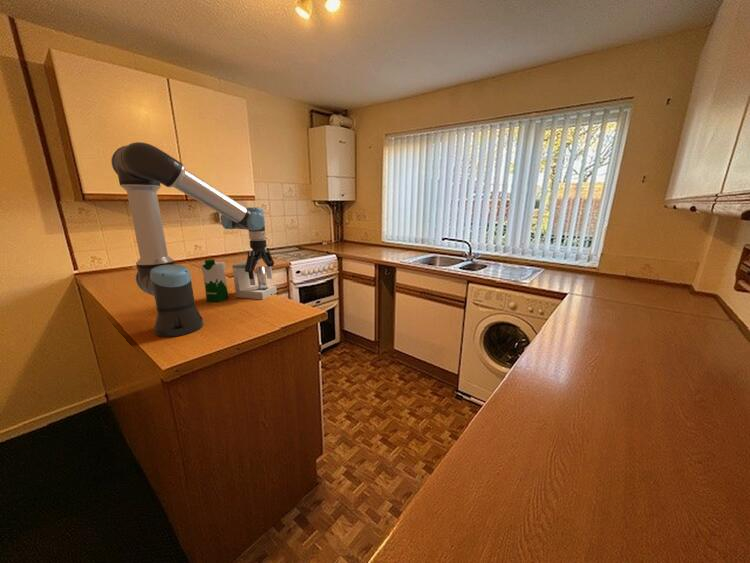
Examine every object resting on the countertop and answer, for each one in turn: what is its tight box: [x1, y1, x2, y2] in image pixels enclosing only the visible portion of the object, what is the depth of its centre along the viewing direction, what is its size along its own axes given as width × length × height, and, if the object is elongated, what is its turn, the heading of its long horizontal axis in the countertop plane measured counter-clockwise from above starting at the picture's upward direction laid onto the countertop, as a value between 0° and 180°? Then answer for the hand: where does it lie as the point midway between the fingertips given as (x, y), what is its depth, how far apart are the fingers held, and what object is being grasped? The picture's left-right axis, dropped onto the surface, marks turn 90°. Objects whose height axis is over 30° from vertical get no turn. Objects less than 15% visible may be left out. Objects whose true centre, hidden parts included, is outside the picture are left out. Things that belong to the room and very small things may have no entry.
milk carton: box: [199, 258, 229, 303], centre depth 142 cm, size 9×9×20 cm
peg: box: [255, 265, 268, 290], centre depth 150 cm, size 4×4×15 cm
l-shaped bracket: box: [232, 261, 278, 300], centre depth 151 cm, size 12×16×16 cm
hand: (261, 281), depth 150 cm, fingers open, 13 cm apart
